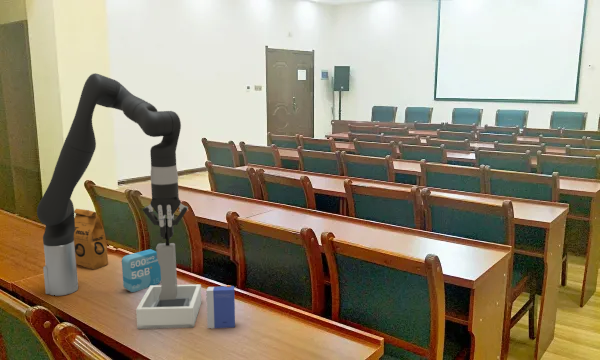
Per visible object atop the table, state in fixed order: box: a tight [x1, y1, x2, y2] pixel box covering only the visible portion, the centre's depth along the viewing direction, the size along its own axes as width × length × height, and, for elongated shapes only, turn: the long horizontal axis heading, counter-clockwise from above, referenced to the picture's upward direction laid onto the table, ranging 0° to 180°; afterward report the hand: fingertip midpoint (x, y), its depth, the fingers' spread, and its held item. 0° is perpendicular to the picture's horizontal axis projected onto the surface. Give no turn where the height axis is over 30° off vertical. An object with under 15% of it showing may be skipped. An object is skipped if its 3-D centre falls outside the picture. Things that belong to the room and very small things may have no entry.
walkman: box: [205, 284, 236, 329], centre depth 142 cm, size 8×3×12 cm, turn 96°
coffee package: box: [74, 208, 109, 270], centre depth 188 cm, size 10×12×22 cm
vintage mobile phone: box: [155, 217, 178, 300], centre depth 146 cm, size 4×5×25 cm
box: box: [135, 283, 202, 330], centre depth 149 cm, size 16×17×6 cm
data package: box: [121, 248, 161, 293], centre depth 169 cm, size 12×4×12 cm, turn 137°
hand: (167, 238), depth 145 cm, fingers closed on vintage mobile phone, 1 cm apart
